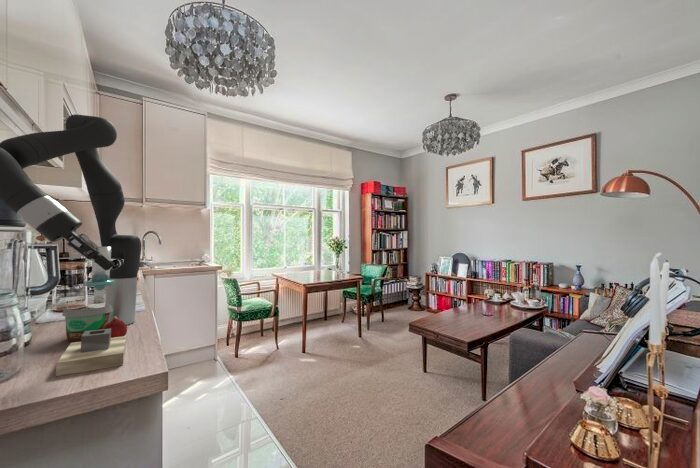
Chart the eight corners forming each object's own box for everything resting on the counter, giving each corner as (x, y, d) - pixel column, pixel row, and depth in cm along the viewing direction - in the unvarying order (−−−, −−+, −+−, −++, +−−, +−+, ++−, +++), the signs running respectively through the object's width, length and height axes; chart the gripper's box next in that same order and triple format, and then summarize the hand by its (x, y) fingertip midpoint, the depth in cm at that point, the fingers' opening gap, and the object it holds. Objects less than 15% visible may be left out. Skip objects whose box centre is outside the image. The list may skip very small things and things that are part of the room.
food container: (51, 345, 85) (53, 311, 86) (61, 339, 91) (64, 306, 91) (104, 341, 90) (106, 308, 91) (111, 335, 96) (113, 304, 96)
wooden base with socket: (70, 354, 79) (71, 327, 80) (125, 346, 86) (127, 322, 87) (55, 376, 66) (58, 344, 67) (122, 365, 73) (124, 336, 74)
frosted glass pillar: (85, 301, 78) (89, 246, 78) (114, 300, 81) (117, 246, 82) (81, 306, 73) (85, 246, 73) (112, 303, 76) (116, 247, 77)
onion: (131, 340, 91) (132, 314, 92) (114, 347, 86) (116, 319, 86) (114, 339, 92) (115, 313, 92) (96, 345, 86) (98, 318, 86)
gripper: (60, 206, 68) (123, 258, 74) (72, 211, 79) (125, 256, 86) (25, 227, 65) (94, 280, 71) (42, 229, 76) (100, 275, 83)
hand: (111, 267), depth 79 cm, fingers closed on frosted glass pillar, 3 cm apart
